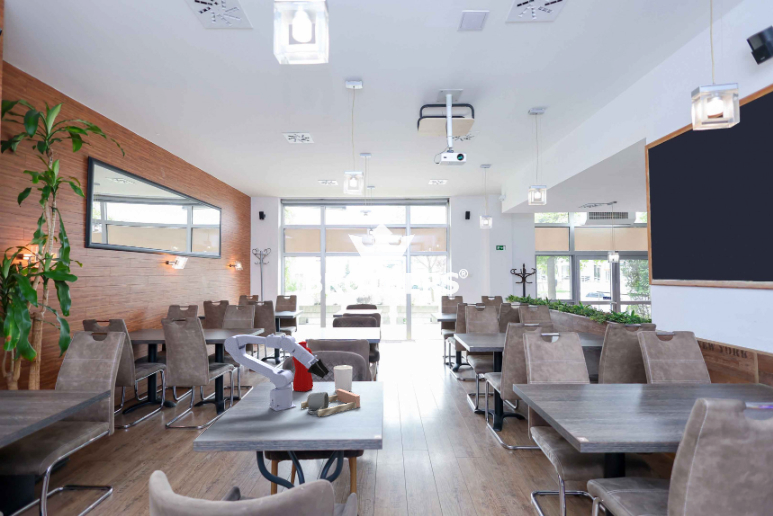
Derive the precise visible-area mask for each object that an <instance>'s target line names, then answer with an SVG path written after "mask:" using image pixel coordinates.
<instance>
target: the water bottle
mask: <svg viewBox="0 0 773 516" xmlns="http://www.w3.org/2000/svg"><path fill="white" fill-rule="evenodd" d="M297 343H298V344H300V345H301V346H302V347H303V348H305V349H306V350H307V351H308V352H309V353H311V354H312V355H313V352H312V349H311V348H309V347H307V346H308V342H307V341H303V340H301V341H300V342H297ZM291 362H293V363H291V365H292V367H294V374H293V375H294V379H293V381H292V391H294V392H302V393H303V392H308V391H310V390H312V389H313V387H314V380H313V375H312V373H308V372H307V371H308V370H309V369H308V368H306V366H305V365H303V364H302V363H301V362H300V361H298V360H297V359H296V358H295V357H294V356H292V359H291Z"/></svg>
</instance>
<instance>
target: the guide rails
mask: <svg viewBox="0 0 773 516" xmlns="http://www.w3.org/2000/svg"><path fill="white" fill-rule="evenodd" d="M336 400H338V395H337V394H333V395H329V402H330V403H333V402H332V401H334V402H337V401H336ZM306 407H308V406H307V400H306V401H305V400H304V401H302V402H300V408H301V409H302V408H303V409H306ZM352 408H354V409H357V408H356V402H351V403H347V404H345V403H343V404H339V405H338V404H337V405H335V406H331V407H328V408H326V409H321V410H318V413H317V417H318V416H319V418H321V417H320V416H322V417H325V416H324V415H326V416H328V414H330V415H333V413H334V414H337V413H336V412H338V413H341V412H340V411H342V412H345V411H344V410H346V411H349V410H348V409H350V410H353V409H352Z"/></svg>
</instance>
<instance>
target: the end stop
mask: <svg viewBox="0 0 773 516" xmlns="http://www.w3.org/2000/svg"><path fill="white" fill-rule="evenodd" d="M336 395H338V400H339V401H338V402H340V401H342V402H341V403H343V402H344V403H343V404H345V403H351V402H356V408H355V409H357V407H358V408H360V407H361V396H360V395H359V394H356V393H354V392H351V391H350V392H348V391H345V390H343V389H337V392H336Z"/></svg>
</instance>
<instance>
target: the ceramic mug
mask: <svg viewBox="0 0 773 516" xmlns="http://www.w3.org/2000/svg"><path fill="white" fill-rule="evenodd" d="M329 396H330V395H329V393H328V392H327V391H324V392H323V391H322V392H312V393H309V394H308V396H307V400H306V401H307V406H308V408H307V411H308V414H310V415H318V410H321V409H326V408H329V406H330V403H329Z"/></svg>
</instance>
